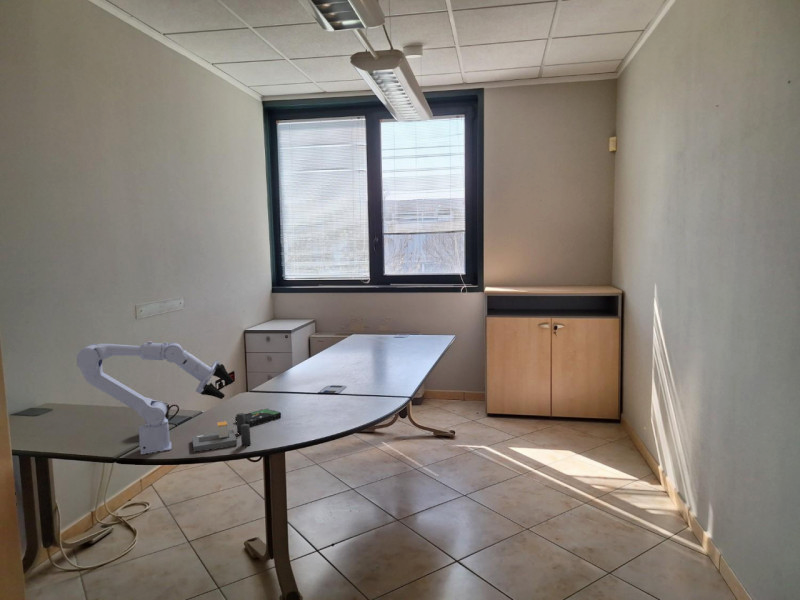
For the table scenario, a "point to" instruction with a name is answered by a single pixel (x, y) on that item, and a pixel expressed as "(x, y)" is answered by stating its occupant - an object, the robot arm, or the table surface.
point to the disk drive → (261, 416)
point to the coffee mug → (169, 409)
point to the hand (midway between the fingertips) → (227, 389)
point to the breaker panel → (213, 441)
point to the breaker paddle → (222, 429)
